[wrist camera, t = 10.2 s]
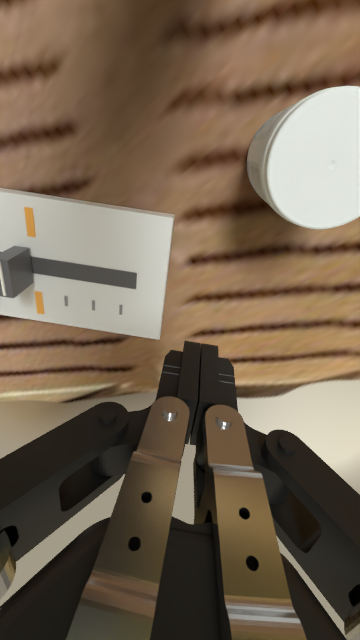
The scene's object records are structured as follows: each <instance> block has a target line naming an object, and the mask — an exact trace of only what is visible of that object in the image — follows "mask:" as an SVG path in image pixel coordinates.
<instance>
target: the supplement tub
mask: <svg viewBox="0 0 360 640" xmlns="http://www.w3.org/2000/svg"><path fill="white" fill-rule="evenodd" d="M247 172H248V177H249V180H250V183H251V185H252V187H253V188H254V190H255V191H256V193H257V194H258V195H259V196H260V197H261V198H262V199H263V200H264V201H265V202H266V203H267V204H268V205H269V206H270V207H271V208H272V209H273V210H274V211H275V212H277V213H278V214H279V215H280V216H281V217H283V218H284V219H286V220H287V221H289V222H291V223H293V224H296V225H299V226H301V227H305V228H309V229H329V228H334V227H338V226H341V225H344V224H346V223H349V222H351V221H353V220H355V219H356V218H358V217H360V87H358V86H342V87H333V88H328V89H324V90H321V91H318V92H316V93H314V94H312V95H310V96H308V97H306V98H304V99H302V100H300V101H298V102H297V103H295V104H293V105H291V106H290V107H288V108H286V109H284V110H283V111H281V112H279V113H277V114H275V115H274V116H272V117H271V118H270V119H268V120H267V121H266V122H265V123H264V124H263V125H262V126H261V127H260V129H259V130H258V131H257V133H256V134H255V136H254V138H253V140H252V142H251V145H250V147H249V151H248V156H247Z"/></svg>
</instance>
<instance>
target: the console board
mask: <svg viewBox="0 0 360 640" xmlns="http://www.w3.org/2000/svg"><path fill="white" fill-rule="evenodd" d="M174 220H175V215H174V214H167V213H161V212H154V211H148V210H141V209H135V208H128V207H122V206H115V205H109V204H102V203H96V202H89V201H83V200H76V199H70V198H63V197H57V196H50V195H44V194H37V193H31V192H24V191H18V190H11V189H5V188H0V253H1V252H3V251H5V250H7V249H9V248H11V247H13V246H20V247H26V248H29V250H30V258H31V266H32V274H33V282H34V283H33V284H31V285H30V286H29V287H28V288H26V289H25V290H24V291H23V292H21V293H20V294H19V295H17V296H16V297H15V298H8V297H1V296H0V315H6V316H12V317H18V318H25V319H31V320H37V321H43V322H50V323H56V324H62V325H69V326H75V327H81V328H88V329H94V330H100V331H107V332H113V333H119V334H125V335H132V336H138V337H144V338H151V339H157V340H159V339H160V335H161V330H162V322H163V313H164V305H165V296H166V288H167V279H168V271H169V262H170V254H171V245H172V237H173V228H174Z"/></svg>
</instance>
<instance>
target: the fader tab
mask: <svg viewBox="0 0 360 640" xmlns="http://www.w3.org/2000/svg"><path fill="white" fill-rule="evenodd" d="M33 283H34V282H33V274H32V266H31V258H30V250H29V248H26V247H20V246H13V247H11V248H9V249H7V250H5V251H3V252H1V253H0V296H1V297H8V298H15V297H16V296H17V295H19V294H20V293H21V292H23V291H24V290H25V289H26V288H28V287H29V286H30V285H31V284H33Z"/></svg>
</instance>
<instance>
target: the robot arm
mask: <svg viewBox="0 0 360 640" xmlns="http://www.w3.org/2000/svg"><path fill="white" fill-rule="evenodd" d="M200 347H201V348H200ZM190 433H191V435H190ZM189 438H190V444H191V445H196V454H195V458H194V463H193V472H194V525H191V524H187V523H185V522H183V521H181V520H179V519H177V518H174V517H172V511H173V506H174V500H175V494H176V489H177V483H178V478H179V472H180V466H181V459H182V456H183V451H184V447H185V444H188V442H189ZM123 474H125V477H124V480H123V483H122V486H121V489H120V492H119V495H118V498H117V501H116V504H115V506H114V509H113V513H112V515H111V517H109V518H106V519H104V520H101V521H99V522H97V523H95V524H93V525H92V526H90V527H89V528H87V529H86V530H84V531H83V532H82V533H81V534H80V535H78V536H77V537H76V538H75V539H74V540H73V541H72V542H71V543H70V544H69V545H68V546H66V547H65V548H64V549H63V550H62V551H61V552H60V553H59V554H58V555H56V556H55V557H54V558H53V559H52V560H51V561H50V562H49V563H48V564H47V565H46V566H44V567H43V568H42V569H41V570H40V571H39V572H38V573H37V574H36V575H34V576H33V577H32V578H31V579H30V580H29V581H28V582H27V583H26V584H25V585H24V586H22V587H21V588H20V589H19V590H18V591H17V592H16V593H15V594H14V595H12V596H11V597H10V598H9V599H8V600H7V601H6V602H5V603H4V604H3V605H2V606H0V640H360V495H359V494H358V493H357V492H356V491H355V490H354V489H353V488H352V487H351V486H350V485H348V484H347V483H346V482H345V481H344V480H343V479H342V478H341V477H340V476H339V475H338V474H337V473H336V472H335V471H334V470H332V469H331V468H330V467H329V466H328V465H327V464H326V463H325V462H324V461H323V460H322V459H321V458H320V457H318V456H317V455H316V454H315V453H314V452H313V451H312V450H311V449H310V448H309V447H308V446H307V445H306V444H305V443H304V442H302V441H301V440H300V439H299V438H298V437H297V436H295V435H294V434H292V433H290V432H288V431H284V430H274V431H271V432H270V433H269V434H268V435H266V434H263V433H261V432H259V431H256V430H254V429H252V428H251V427H249V426H248V425H246V424H245V423H244V421H243V418H242V416H241V415H240V414H239V413H238V408H237V398H236V388H235V378H234V367H233V366H232V364H231V363H230V361H229V360H228V359H225V358H219V357H218V346H215V345H208V344H201V343H195V342H189V341H185V342H184V348H183V352H181V351H174V350H171V351H170V352H169V353H168V354H167V355H166V356H165V360H164V364H163V369H162V374H161V378H160V383H159V388H158V392H157V397H156V400H155V402H154V403H153V404H152V405H151V406H149V407H148V408H146V409H144V410H140V411H133V412H128V411H127V410H126V408H124V407H123V406H122V405H121V404H118V403H115V402H104V403H100V404H98V405H95V406H94V407H92V408H90V409H88V410H87V411H85V412H83V413H81V414H80V415H78V416H76V417H74V418H72V419H71V420H69V421H67V422H65V423H64V424H62V425H60V426H58V427H56V428H55V429H53V430H51V431H49V432H47V433H46V434H44V435H42V436H40V437H39V438H37V439H35V440H33V441H31V442H30V443H28V444H26V445H24V446H22V447H21V448H19V449H17V450H16V451H14V452H12V453H10V454H8V455H6V456H5V457H3V458H1V459H0V599H1V598H2V597H3V595H5V593H6V592H7V590H8V589H9V587H10V586H11V584H12V582H13V579H14V576H15V572H16V561H18V560H19V559H20V558H21V557H23V556H24V555H25V554H26V553H28V552H29V551H30V550H31V549H33V548H34V547H35V546H36V545H38V544H39V543H40V542H41V541H43V540H44V539H45V538H46V537H48V536H49V535H50V534H52V533H53V532H54V531H55V530H57V529H58V528H59V527H60V526H62V525H63V524H64V523H65V522H66V521H68V520H69V519H70V518H71V517H73V516H74V515H75V514H77V513H78V512H79V511H80V510H82V509H83V508H84V507H85V506H87V505H88V504H89V503H90V502H92V501H93V500H94V499H95V498H97V497H98V496H99V495H100V494H102V493H103V492H104V491H105V490H107V489H108V488H109V487H110V486H112V485H113V484H114V483H115V482H117V481H118V480H119V479H120V478H121V477H122V476H123ZM276 535H277V537H278V538H279V539H280V540H281V542H282V543H283V544H284V546H285V547H286V548H287V549H288V551H289V552H290V553H291V555H292V556H293V557H294V558H295V559H296V561H297V562H298V564H299V565H300V566H301V567H302V569H303V570H304V571H305V573H306V574H307V575H308V576H309V578H310V579H311V580H312V581H313V583H314V584H315V585H316V587H317V588H318V589H319V590H320V592H321V593H322V594H323V596H324V597H325V598H326V600H327V601H328V602H329V603H330V605H331V606H332V607H333V608H334V609H335V611H336V612H337V614H338V615H339V616H340V618H341V619H342V620H343V621H344V631H345V636H346V638H345V637H344V635H343V634H342V633H341V631H340V630H339V628H338V627H337V626H336V624H335V623H334V622H333V620H332V619H331V617H330V616H329V615H328V613H327V612H326V611H325V609H324V608H323V606H322V605H321V604H320V602H319V601H318V600H317V598H316V597H315V595H314V594H313V593H312V591H311V590H310V589H309V587H308V586H307V584H306V583H305V581H304V580H303V579H302V577H301V576H300V575H299V573H298V572H297V570H296V569H295V568H294V567H293V566H292V564H291V563H290V562H289V561H288V560H287V559H286V558H285V556H283V555H282V554H281V553H280V550H279V545H278V541H277V537H276Z"/></svg>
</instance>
